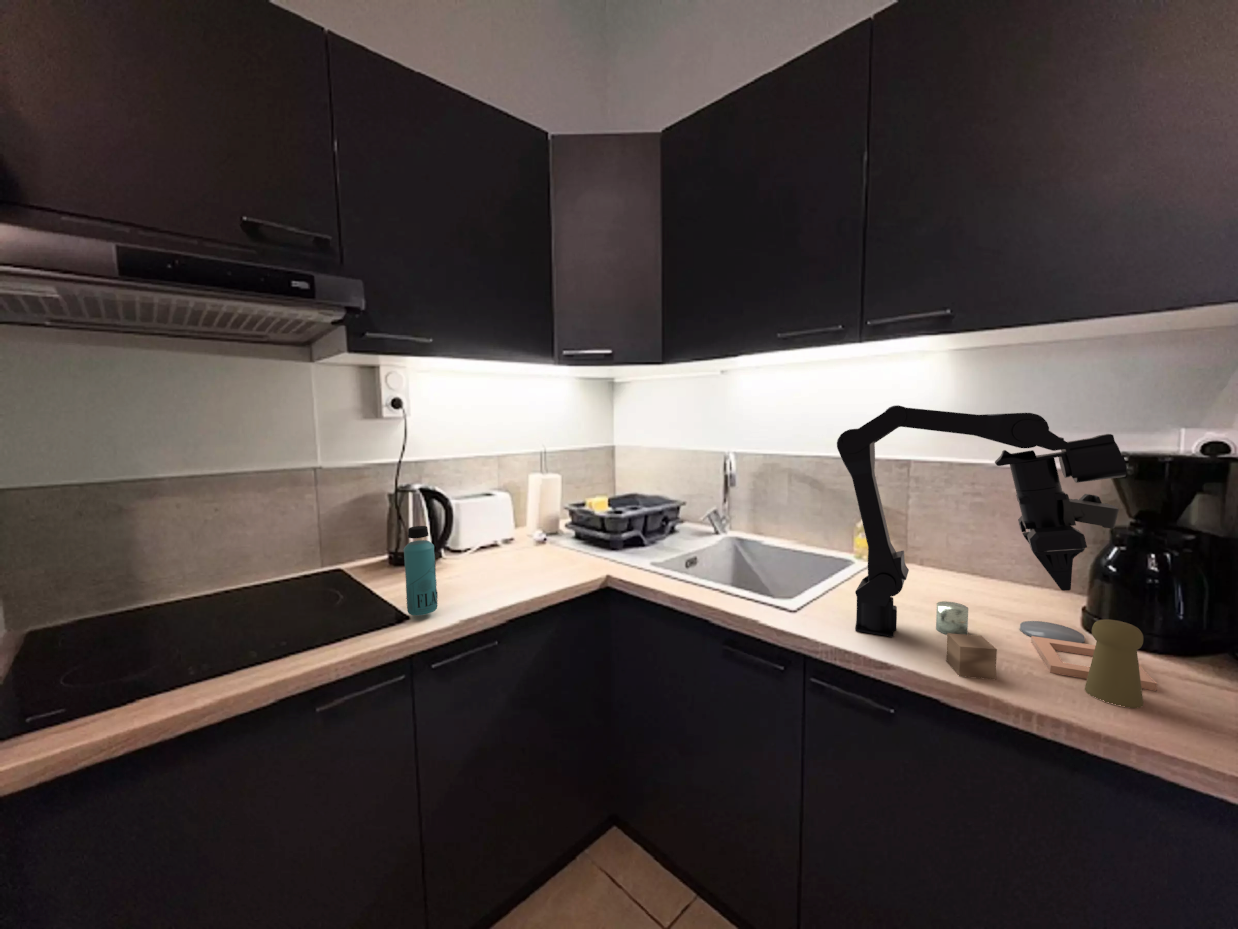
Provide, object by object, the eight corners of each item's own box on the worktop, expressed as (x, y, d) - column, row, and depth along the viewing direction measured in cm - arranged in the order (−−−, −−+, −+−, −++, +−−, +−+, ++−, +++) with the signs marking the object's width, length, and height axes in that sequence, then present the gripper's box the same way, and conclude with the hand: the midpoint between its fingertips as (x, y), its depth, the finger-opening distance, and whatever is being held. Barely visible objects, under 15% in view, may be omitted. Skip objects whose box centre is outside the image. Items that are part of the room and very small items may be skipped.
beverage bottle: (415, 625, 102) (409, 531, 101) (401, 617, 107) (396, 527, 105) (444, 615, 107) (439, 526, 105) (430, 608, 111) (425, 522, 110)
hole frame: (1050, 672, 78) (1050, 665, 77) (1031, 642, 88) (1031, 636, 88) (1156, 691, 72) (1156, 683, 72) (1122, 656, 82) (1122, 649, 82)
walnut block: (959, 677, 77) (960, 646, 77) (946, 661, 82) (947, 633, 82) (995, 680, 76) (996, 649, 76) (980, 664, 81) (981, 635, 80)
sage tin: (937, 634, 92) (937, 608, 92) (934, 624, 97) (935, 599, 96) (969, 639, 90) (970, 613, 90) (965, 629, 94) (966, 603, 94)
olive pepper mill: (1082, 680, 75) (1086, 611, 74) (1139, 694, 71) (1144, 621, 70) (1086, 698, 70) (1090, 624, 69) (1147, 713, 66) (1153, 635, 66)
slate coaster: (1026, 639, 89) (1026, 635, 89) (1014, 621, 97) (1015, 617, 97) (1092, 649, 85) (1092, 645, 85) (1074, 630, 93) (1075, 626, 93)
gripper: (1122, 486, 67) (1150, 598, 67) (1091, 473, 83) (1114, 564, 82) (1019, 498, 74) (1044, 600, 73) (1009, 484, 89) (1029, 568, 88)
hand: (1060, 582), depth 79 cm, fingers open, 9 cm apart
